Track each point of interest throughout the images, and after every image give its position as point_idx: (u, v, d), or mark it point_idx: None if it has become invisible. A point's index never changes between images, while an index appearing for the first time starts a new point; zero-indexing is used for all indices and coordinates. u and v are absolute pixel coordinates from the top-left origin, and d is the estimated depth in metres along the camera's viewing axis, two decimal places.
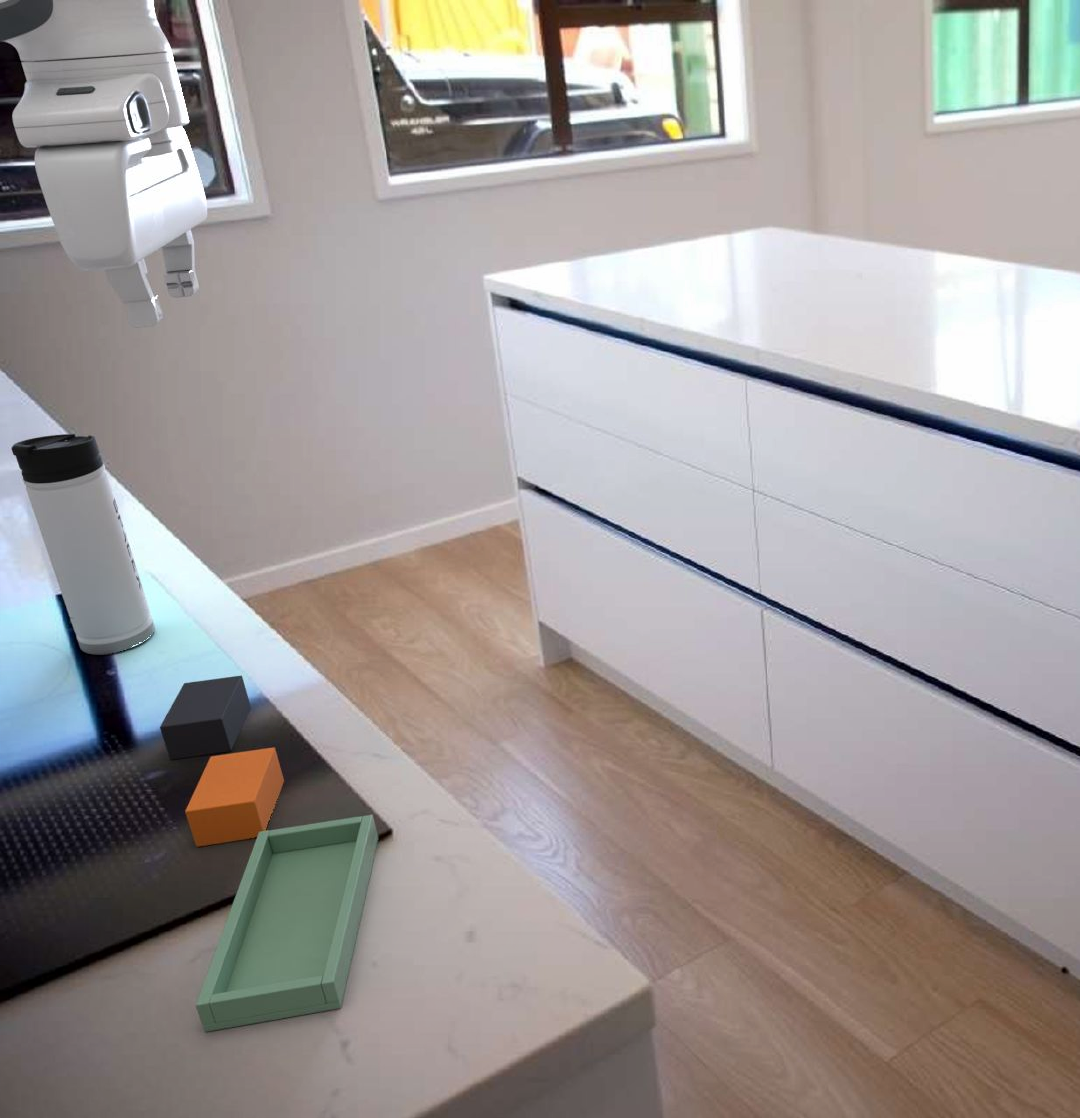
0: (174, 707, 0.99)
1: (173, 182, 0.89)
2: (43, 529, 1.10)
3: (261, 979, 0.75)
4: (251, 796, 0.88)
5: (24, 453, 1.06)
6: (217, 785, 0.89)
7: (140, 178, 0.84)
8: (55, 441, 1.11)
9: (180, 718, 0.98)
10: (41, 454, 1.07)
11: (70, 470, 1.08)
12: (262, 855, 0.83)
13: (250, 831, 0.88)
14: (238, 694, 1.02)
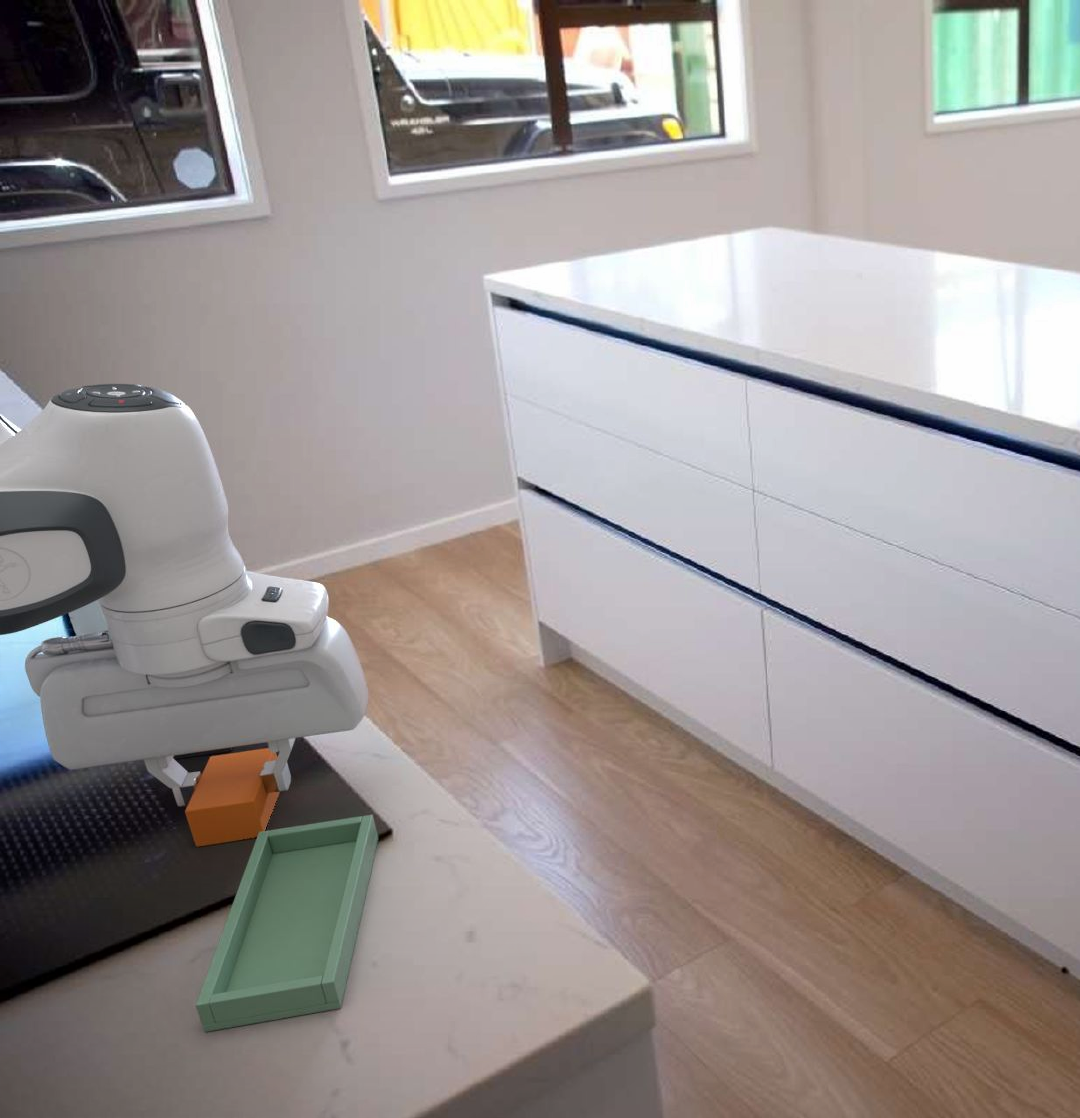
0: None
1: None
2: None
3: (261, 979, 0.75)
4: (251, 796, 0.88)
5: None
6: (217, 785, 0.89)
7: None
8: None
9: None
10: None
11: None
12: (262, 855, 0.83)
13: (250, 831, 0.88)
14: None
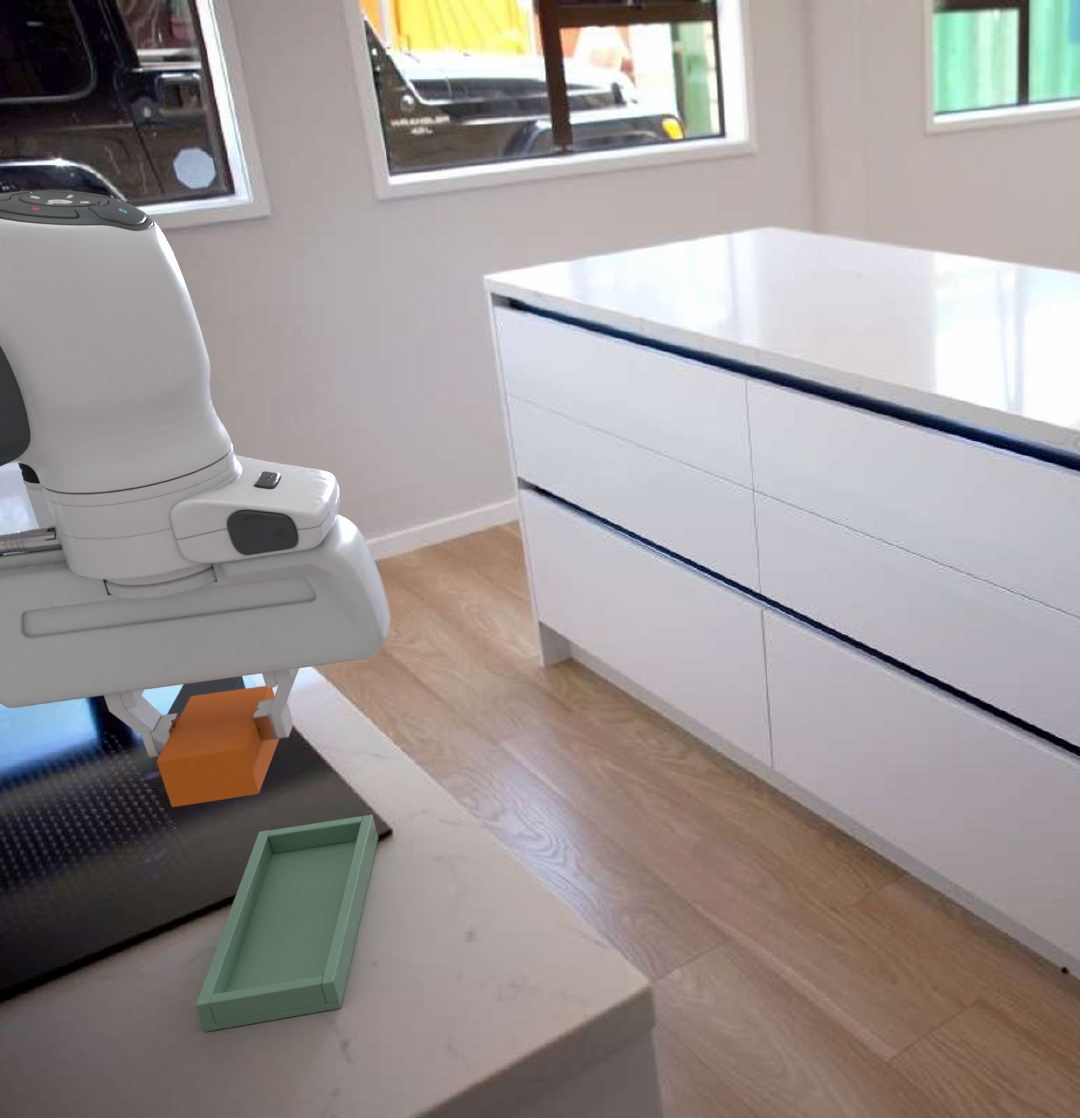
0: (174, 707, 0.99)
1: None
2: None
3: (261, 979, 0.75)
4: (241, 742, 0.69)
5: None
6: (198, 730, 0.70)
7: None
8: None
9: None
10: None
11: None
12: (262, 855, 0.83)
13: (240, 787, 0.69)
14: None
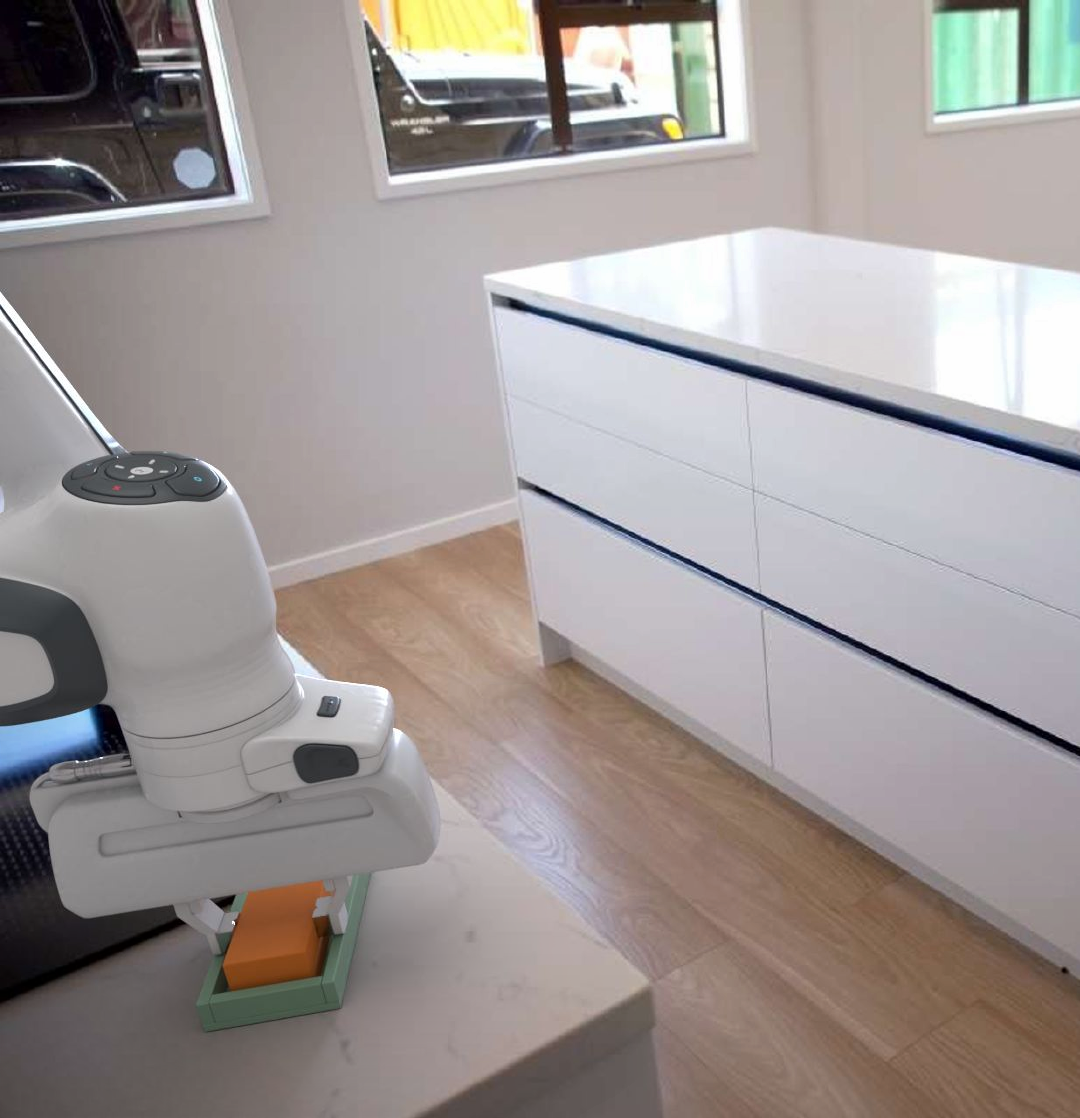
0: None
1: None
2: None
3: None
4: (301, 945, 0.73)
5: None
6: (260, 929, 0.74)
7: None
8: None
9: None
10: None
11: None
12: None
13: None
14: None
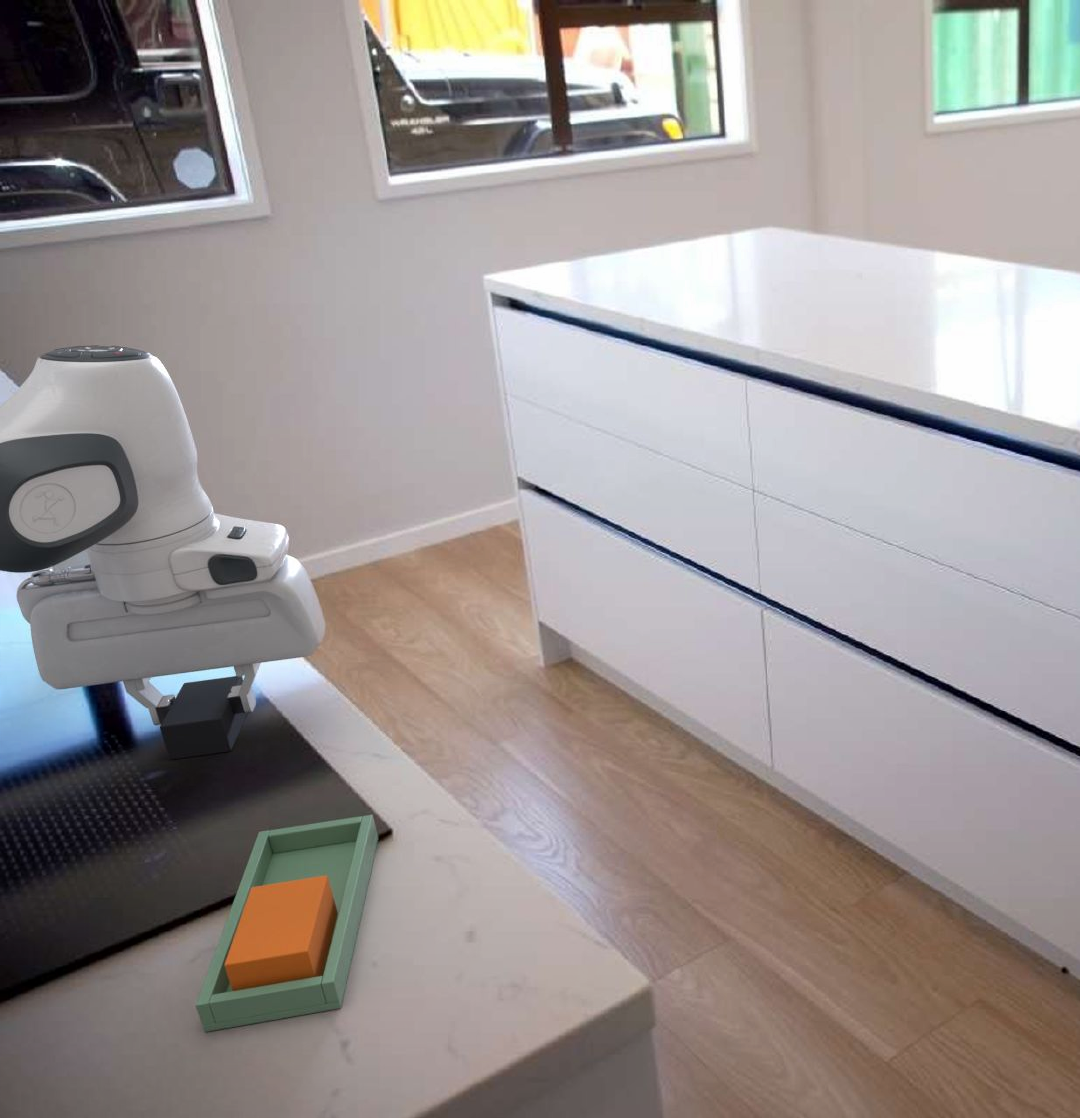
0: (174, 707, 0.99)
1: None
2: None
3: None
4: (303, 944, 0.73)
5: None
6: (261, 928, 0.74)
7: None
8: None
9: (180, 717, 0.98)
10: None
11: None
12: (262, 855, 0.83)
13: None
14: None
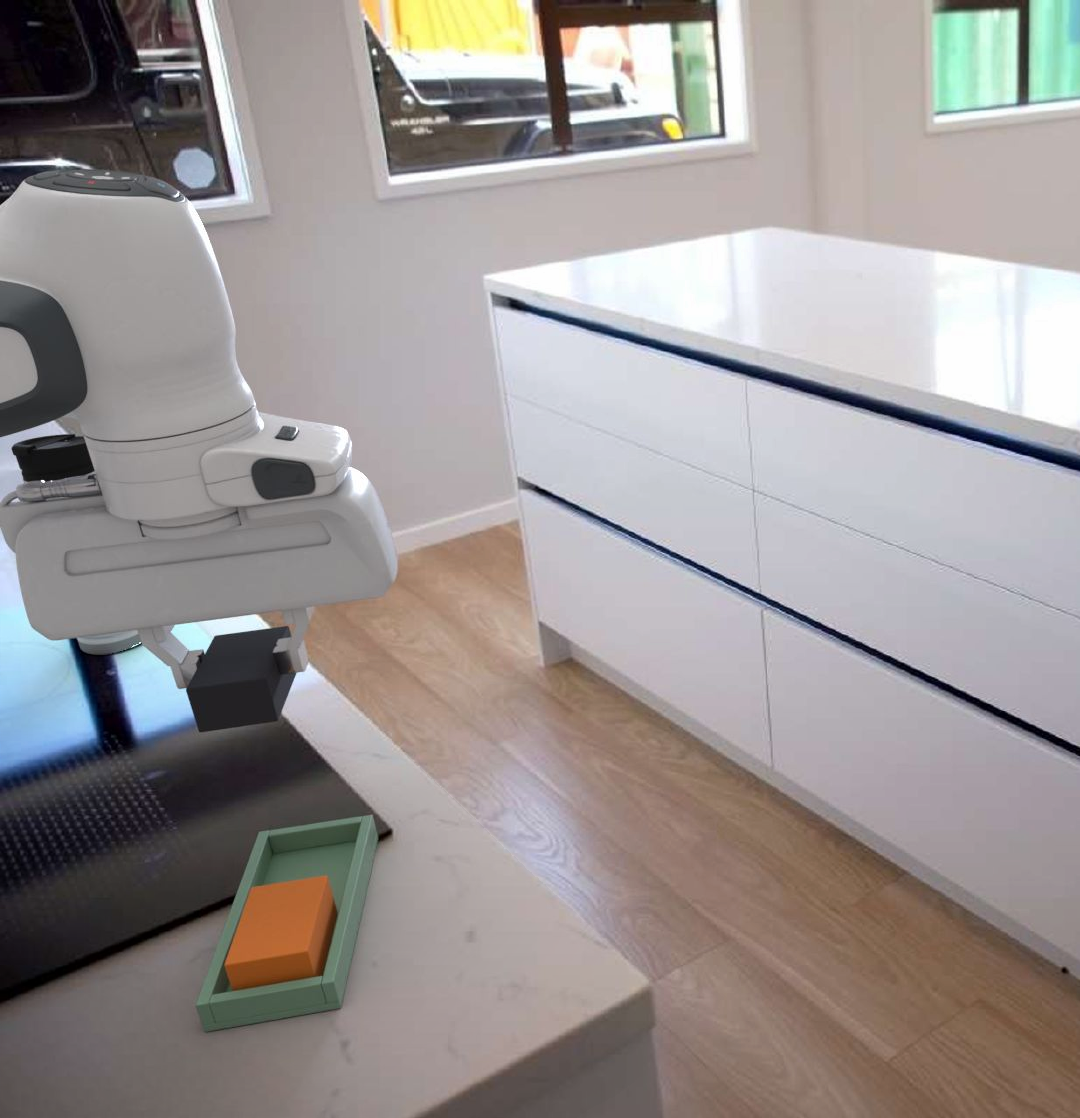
0: (203, 665, 0.77)
1: None
2: None
3: None
4: (303, 944, 0.73)
5: (24, 453, 1.06)
6: (261, 928, 0.74)
7: None
8: (55, 441, 1.11)
9: (212, 677, 0.75)
10: (41, 454, 1.07)
11: (70, 470, 1.08)
12: (262, 855, 0.83)
13: None
14: None
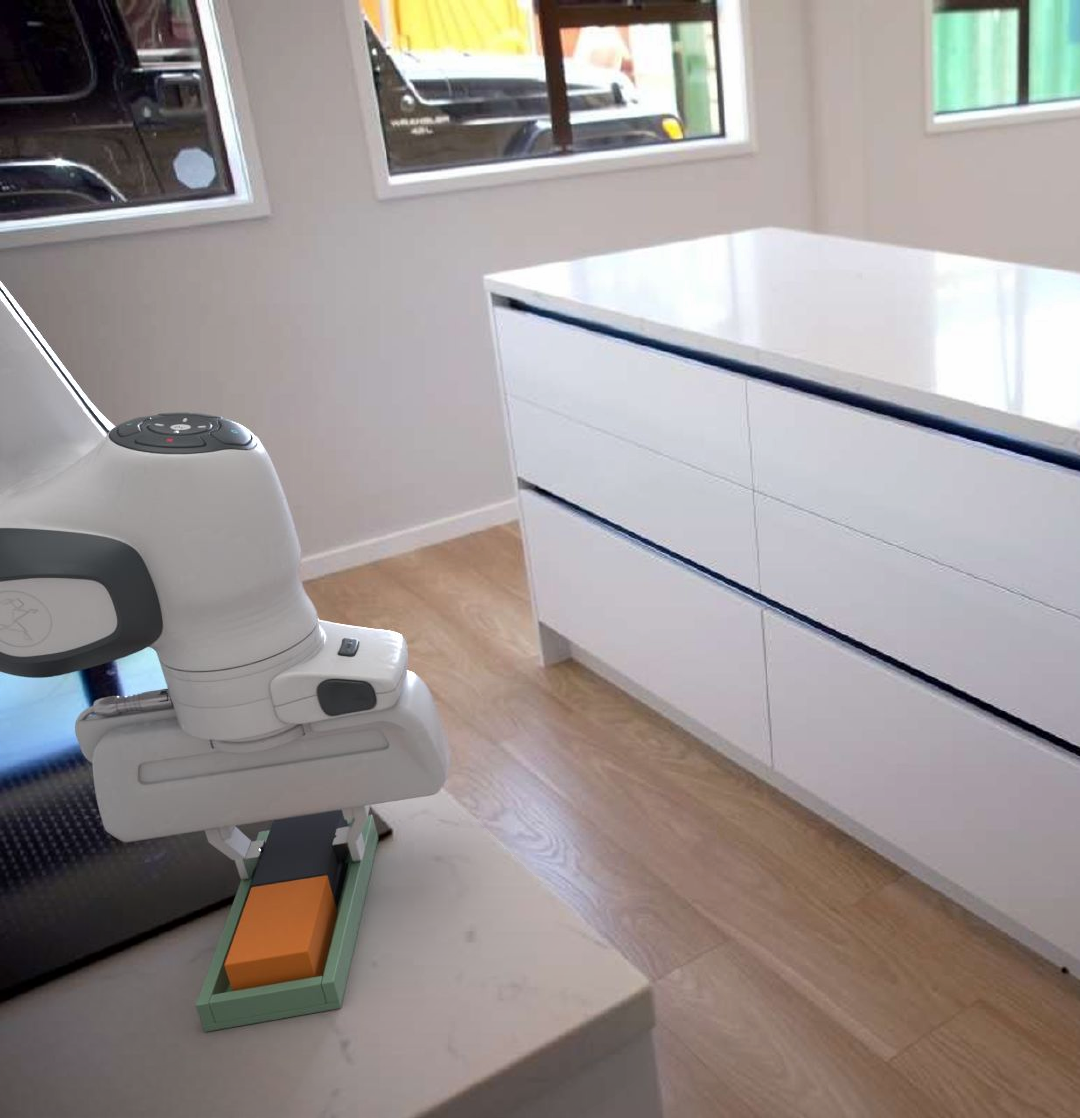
0: (265, 856, 0.80)
1: None
2: None
3: None
4: (303, 944, 0.73)
5: None
6: (261, 928, 0.74)
7: None
8: None
9: (275, 872, 0.79)
10: None
11: None
12: None
13: None
14: None
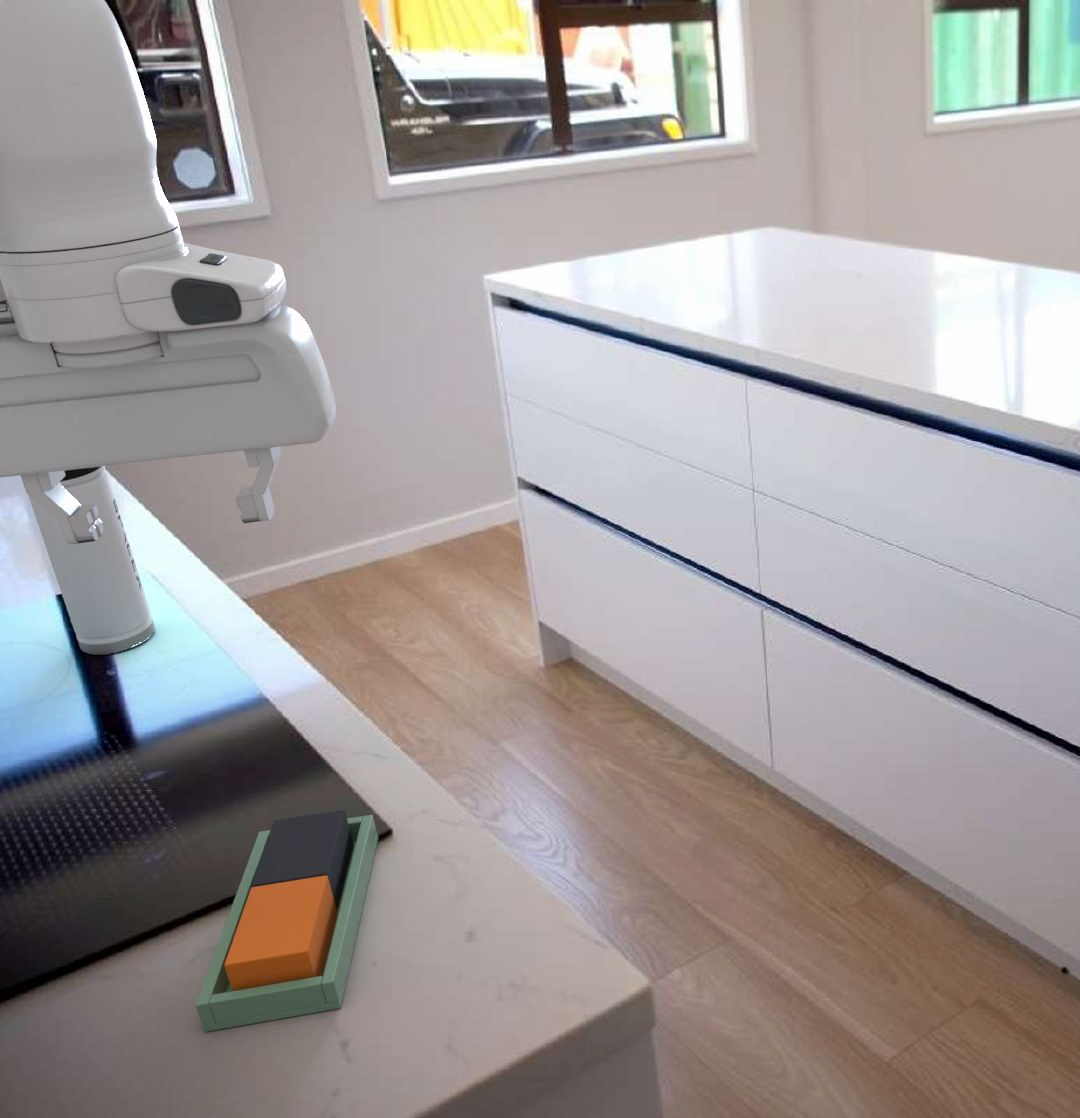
0: (266, 856, 0.81)
1: None
2: (43, 529, 1.10)
3: None
4: (303, 944, 0.73)
5: None
6: (261, 928, 0.74)
7: None
8: None
9: (275, 872, 0.79)
10: None
11: (70, 470, 1.08)
12: None
13: None
14: (342, 835, 0.83)
